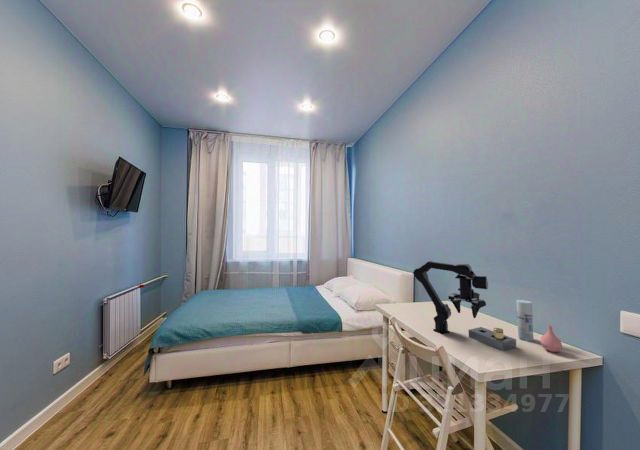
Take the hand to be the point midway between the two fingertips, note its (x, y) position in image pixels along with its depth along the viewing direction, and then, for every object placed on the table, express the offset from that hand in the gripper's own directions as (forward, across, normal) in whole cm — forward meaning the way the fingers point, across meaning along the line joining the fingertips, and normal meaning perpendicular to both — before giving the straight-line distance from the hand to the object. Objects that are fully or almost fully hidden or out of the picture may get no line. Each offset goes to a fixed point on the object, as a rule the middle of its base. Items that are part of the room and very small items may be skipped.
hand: (466, 315), depth 137 cm
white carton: (+12, -14, -26) cm, 32 cm away
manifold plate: (+12, -9, -6) cm, 16 cm away
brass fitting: (+12, -13, -6) cm, 19 cm away
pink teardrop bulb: (+12, -27, -22) cm, 37 cm away
